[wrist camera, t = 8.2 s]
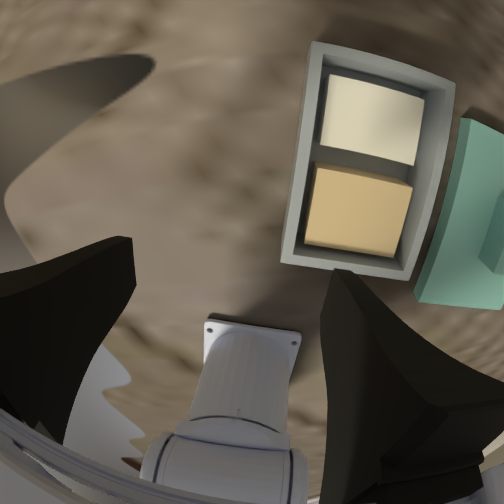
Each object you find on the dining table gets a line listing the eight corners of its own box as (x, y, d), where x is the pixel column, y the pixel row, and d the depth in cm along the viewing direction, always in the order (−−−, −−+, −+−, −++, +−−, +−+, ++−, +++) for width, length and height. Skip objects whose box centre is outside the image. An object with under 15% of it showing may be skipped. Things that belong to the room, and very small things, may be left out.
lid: (493, 301, 21) (512, 326, 17) (412, 291, 21) (429, 321, 18) (540, 158, 14) (569, 170, 11) (460, 117, 15) (491, 121, 12)
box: (390, 252, 20) (408, 281, 16) (282, 234, 20) (280, 262, 17) (426, 86, 15) (455, 83, 11) (306, 55, 15) (311, 40, 11)
